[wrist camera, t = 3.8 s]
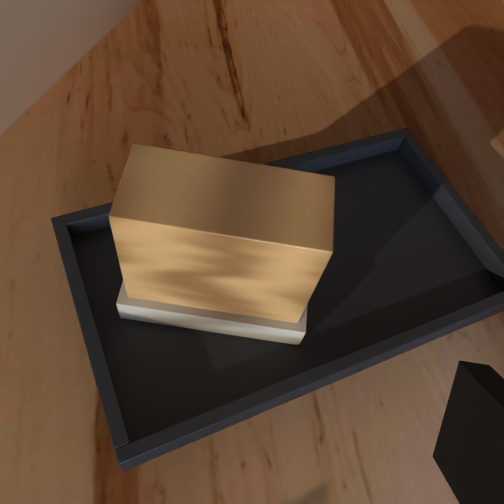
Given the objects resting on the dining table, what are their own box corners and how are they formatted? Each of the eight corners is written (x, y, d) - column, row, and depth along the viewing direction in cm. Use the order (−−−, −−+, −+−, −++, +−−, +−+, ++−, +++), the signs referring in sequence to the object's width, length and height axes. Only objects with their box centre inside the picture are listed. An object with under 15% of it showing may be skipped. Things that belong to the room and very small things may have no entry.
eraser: (119, 318, 29) (92, 224, 21) (141, 242, 32) (125, 133, 24) (299, 345, 30) (344, 264, 21) (304, 268, 33) (345, 169, 24)
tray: (58, 237, 32) (50, 217, 31) (396, 147, 41) (407, 127, 39) (123, 471, 26) (118, 465, 24) (514, 305, 34) (534, 291, 32)
